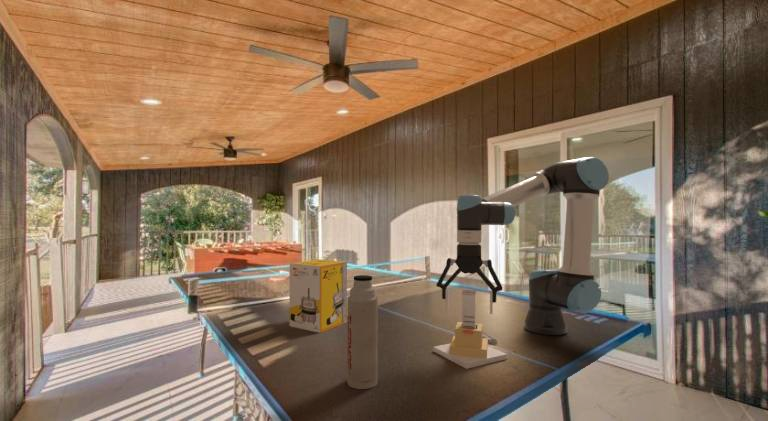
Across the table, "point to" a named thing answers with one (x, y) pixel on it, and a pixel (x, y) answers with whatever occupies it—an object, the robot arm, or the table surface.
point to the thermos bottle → (362, 334)
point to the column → (469, 309)
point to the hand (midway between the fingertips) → (468, 311)
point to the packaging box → (318, 294)
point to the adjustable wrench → (489, 338)
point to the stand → (469, 348)
